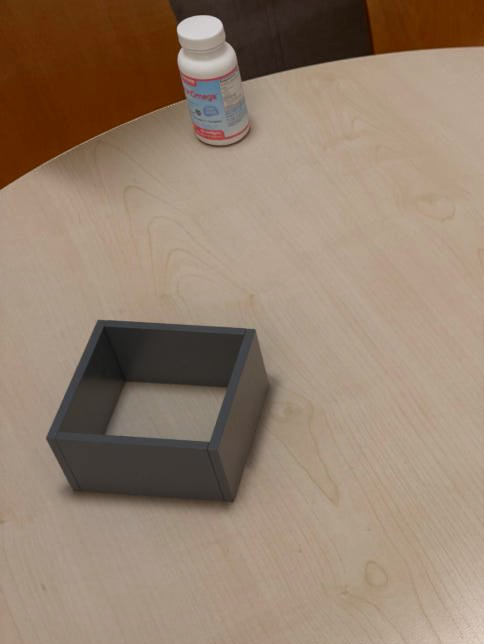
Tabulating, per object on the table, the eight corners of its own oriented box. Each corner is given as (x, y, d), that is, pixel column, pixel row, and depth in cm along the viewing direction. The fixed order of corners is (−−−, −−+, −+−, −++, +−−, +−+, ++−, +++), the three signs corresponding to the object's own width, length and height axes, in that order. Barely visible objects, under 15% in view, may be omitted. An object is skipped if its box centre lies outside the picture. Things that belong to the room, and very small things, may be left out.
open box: (77, 501, 88) (45, 438, 82) (124, 385, 96) (97, 319, 89) (237, 512, 87) (216, 449, 81) (272, 394, 95) (255, 328, 88)
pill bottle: (184, 136, 116) (156, 31, 107) (221, 109, 119) (197, 4, 109) (225, 154, 114) (200, 49, 105) (262, 126, 117) (241, 21, 107)
